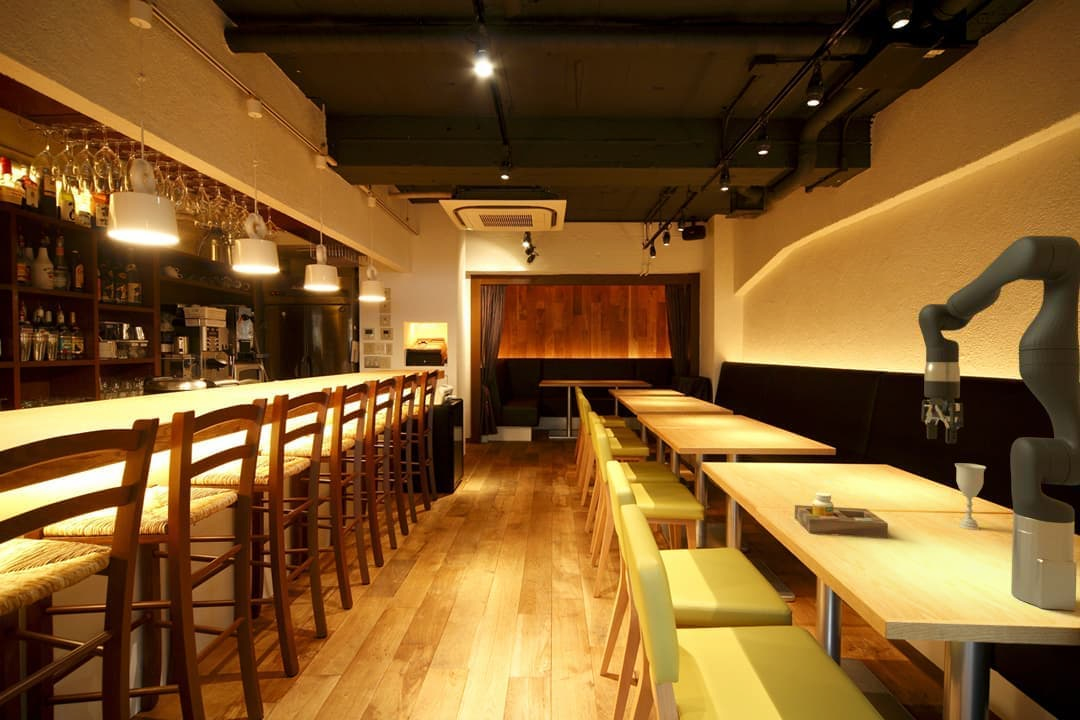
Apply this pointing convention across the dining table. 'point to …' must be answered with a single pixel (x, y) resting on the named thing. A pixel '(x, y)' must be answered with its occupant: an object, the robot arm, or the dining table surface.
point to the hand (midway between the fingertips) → (941, 440)
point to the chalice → (969, 489)
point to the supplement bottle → (822, 505)
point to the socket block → (842, 522)
